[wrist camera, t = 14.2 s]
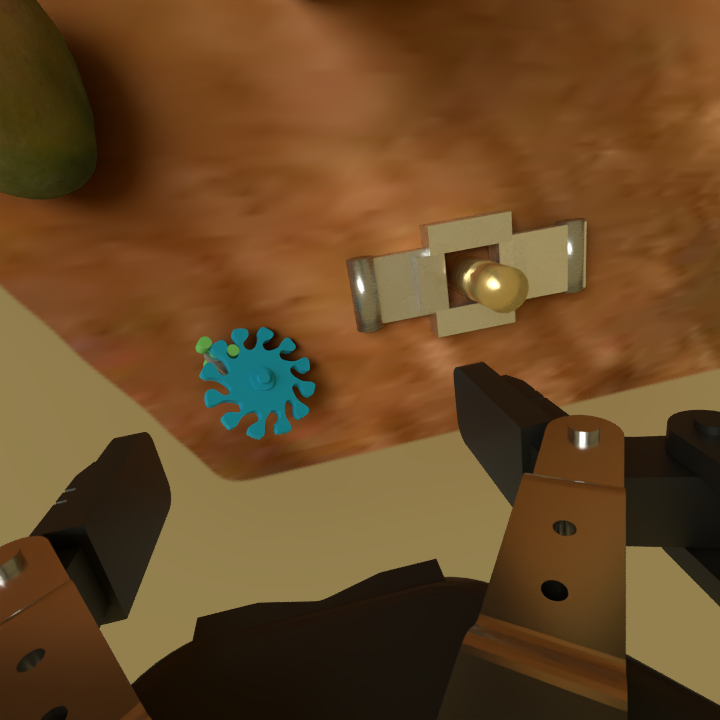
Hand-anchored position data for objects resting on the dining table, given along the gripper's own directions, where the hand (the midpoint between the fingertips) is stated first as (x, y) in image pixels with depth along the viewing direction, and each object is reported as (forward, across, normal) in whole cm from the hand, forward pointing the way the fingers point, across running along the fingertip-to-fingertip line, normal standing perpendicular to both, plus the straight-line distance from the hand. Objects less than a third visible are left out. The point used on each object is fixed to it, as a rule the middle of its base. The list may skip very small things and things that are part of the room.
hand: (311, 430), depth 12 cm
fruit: (+30, +16, -15) cm, 37 cm away
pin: (+30, -15, +3) cm, 34 cm away
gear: (+30, +5, +8) cm, 32 cm away
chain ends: (+30, -16, +3) cm, 34 cm away
